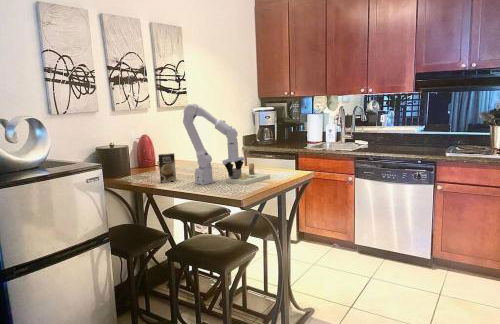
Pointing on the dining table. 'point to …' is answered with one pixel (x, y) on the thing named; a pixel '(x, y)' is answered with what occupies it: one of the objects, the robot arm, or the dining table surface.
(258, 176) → the pin board
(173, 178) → the coffee box
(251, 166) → the pin
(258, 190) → the dining table surface
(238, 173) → the grey chamfered cube
